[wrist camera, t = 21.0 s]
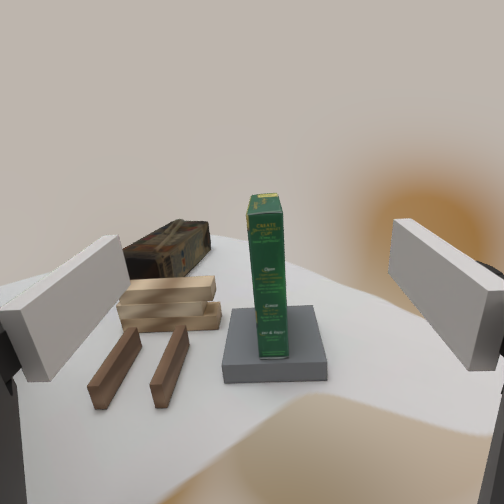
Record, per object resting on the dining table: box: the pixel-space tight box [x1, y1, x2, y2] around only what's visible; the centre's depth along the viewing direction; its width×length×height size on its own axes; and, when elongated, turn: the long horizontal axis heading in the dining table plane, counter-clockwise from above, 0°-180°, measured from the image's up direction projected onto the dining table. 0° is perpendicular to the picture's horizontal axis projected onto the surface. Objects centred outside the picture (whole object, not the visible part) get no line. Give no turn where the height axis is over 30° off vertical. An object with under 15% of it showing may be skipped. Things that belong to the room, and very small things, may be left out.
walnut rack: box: [87, 325, 190, 409], centre depth 29 cm, size 6×8×2 cm
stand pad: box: [222, 305, 327, 383], centre depth 31 cm, size 9×9×2 cm
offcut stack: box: [116, 276, 222, 333], centre depth 36 cm, size 11×3×5 cm, turn 87°
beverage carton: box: [122, 219, 211, 280], centre depth 51 cm, size 8×19×7 cm, turn 165°
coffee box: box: [246, 193, 289, 359], centre depth 28 cm, size 8×3×13 cm, turn 177°
